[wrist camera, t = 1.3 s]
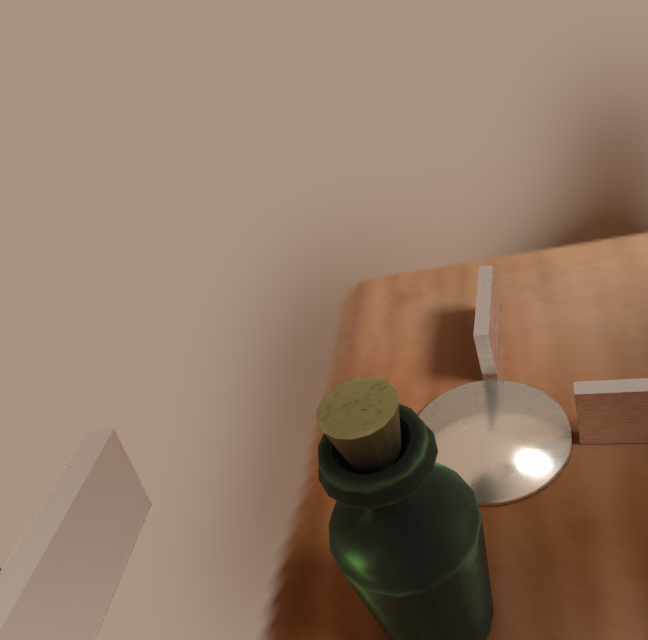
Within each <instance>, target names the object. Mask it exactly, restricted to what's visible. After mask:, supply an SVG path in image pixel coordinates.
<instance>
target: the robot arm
mask: <svg viewBox="0 0 648 640" xmlns="http://www.w3.org/2000/svg"><path fill="white" fill-rule="evenodd" d="M150 507H151V502H150V500H149V498H148V496H147V494H146V492H145V490H144V488H143V486H142V484H141V482H140V480H139V478H138V476H137V474H136V472H135V470H134V468H133V466H132V464H131V462H130V460H129V458H128V456H127V454H126V452H125V450H124V448H123V446H122V444H121V442H120V440H119V438H118V436H117V434H116V432H115V430H114V429H106V430H96V431H87V432H86V433H85V434H84V436H83V438H82V439H81V441H80V443H79V444H78V446H77V448H76V449H75V451H74V452H73V454H72V456H71V457H70V459H69V460H68V462H67V464H66V465H65V467H64V469H63V470H62V472H61V473H60V475H59V477H58V478H57V480H56V482H55V483H54V485H53V486H52V488H51V490H50V491H49V493H48V494H47V496H46V498H45V499H44V501H43V503H42V504H41V506H40V507H39V509H38V511H37V512H36V514H35V516H34V517H33V519H32V521H31V522H30V524H29V525H28V527H27V528H26V530H25V532H24V533H23V535H22V537H21V538H20V540H19V541H18V543H17V545H16V546H15V548H14V550H13V551H12V553H11V555H10V556H9V558H8V559H7V561H6V563H5V565H4V566H3V567H2V569H0V640H95V638H96V636H97V634H98V631H99V629H100V626H101V624H102V622H103V619H104V617H105V615H106V612H107V610H108V607H109V605H110V602H111V600H112V597H113V595H114V593H115V591H116V588H117V586H118V583H119V581H120V579H121V576H122V574H123V571H124V569H125V567H126V564H127V562H128V559H129V557H130V555H131V552H132V550H133V547H134V545H135V543H136V540H137V538H138V535H139V533H140V530H141V528H142V526H143V523H144V521H145V519H146V516H147V514H148V511H149V509H150Z"/></svg>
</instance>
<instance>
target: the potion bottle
mask: <svg viewBox="0 0 648 640" xmlns="http://www.w3.org/2000/svg"><path fill="white" fill-rule="evenodd" d="M316 414H317V424H318V425H319V427H320V428H321V430H322V431H323V433H324V435H323V437H322V439H321V441H320V443H319V446H318V462H319V481H320V482H321V484H322V486H323V487H324V489H325V491H326V492H327V494H328V496H330V497H331V498H333V499H335V500H336V501H337V502H336V505H335V507H334V510H333V512H332V516H331V519H330V522H329V542H330V551H331V553H332V555H333V557H334V559H335V561H336V562H337V564H338V566H339V568H340V570H341V572H342V574H343V575H344V576H345V578H346V579H347V580H348V582H349V583H350V584H351V586H352V587H353V589H354V590H355V591H356V593H357V594H358V595H359V597H360V598H361V600H362V601H363V602H364V604H365V605H366V606H367V608H368V609H369V610H370V612H371V613H372V615H373V616H374V617H375V619H376V620H377V621H378V623H379V624H380V625H381V627H382V628H383V630H384V631H385V632H386V634H387V635H388V636H389V638H390V639H391V640H486V638H487V636H488V635H489V633H490V630H491V623H492V617H493V603H492V595H491V588H490V580H489V572H488V564H487V556H486V549H485V541H484V533H483V525H482V517H481V514H480V510H479V507H478V503H477V500H476V496H475V493H474V491H473V490H472V489H471V487H470V486H469V485H468V484H467V483H466V482H465V481H464V480H463V479H462V477H461V476H460V475H459V474H458V473H457V472H455V471H454V470H452V469H450V468H448V467H446V466H444V465H442V464H440V463H438V462H436V458H437V454H438V448H437V444H436V440H435V436H434V433H433V432H432V431H431V430H430V428H429V427H428V426H427V425H426V424H425V423H424V422H423V421H422V420H421V419H420V418H419V417H418V416H417V414H416V413H415V412H414V411H413V410H412V409H411V408H408V407H406V406H403V405H401V404H399V402H398V396H397V391H396V390H395V389H394V387H393V386H392V385H391V384H390V383H389V382H387V381H384V380H382V379H379V378H376V377H360V378H357V379H353V380H349V381H346V382H344V383H342V384H340V385H339V386H337V387H335V388H333V389H332V390H331V391H330V392H329V393H328V394H327V395H326V396H325V397H324V398H323V399H322V400H321V403H320V405H319V407H318V409H317V411H316Z"/></svg>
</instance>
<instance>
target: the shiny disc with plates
mask: <svg viewBox="0 0 648 640" xmlns="http://www.w3.org/2000/svg"><path fill="white" fill-rule="evenodd" d="M500 316H501V306H500V301H499V296H498V290H497V285H496V279H495V274H494V269H493V265H490V266H482V267H479V278H478V289H477V300H476V311H475V322H474V333H473V337H474V341H475V346H476V350H477V355H478V359H479V363H480V368H481V372H482V377H483V381H478V382H473V383H469V384H465V385H462V386H459V387H456V388H454V389H451V390H449V391H447V392H445V393H444V394H442V395H440V396H439V397H437V398H436V399H435V400H433V401H432V402H431V403H430V404H429V405H427V406H426V407H425V408H424V410H423V411H422V412H421V413H420V415H419V416H418V417H419V418H420V419H421V420H422V421H423V422H424V423H425V424H426V425H427V426H428V427H429V428H430V430H431V431H432V432H433V433H434V436H435V440H436V444H437V448H438V454H437V458H436V462H438V463H440V464H442V465H444V466H446V467H448V468H450V469H452V470H454V471H455V472H457V473H458V474H459V475H460V476H461V477H462V479H463V480H464V481H465V482H466V483H467V484H468V485H469V486H470V487H471V489H472V490H473V491H474V493H475V496H476V500H477V503H478V506H499V505H506V504H510V503H515V502H518V501H521V500H524V499H527V498H529V497H531V496H533V495H535V494H537V493H539V492H540V491H542V490H543V489H545V488H546V487H547V486H549V485H550V484H551V483H552V482H553V481H554V480H555V479H556V478H557V477H558V476H559V475H560V474H561V472H562V471H563V469H564V468H565V466H566V464H567V462H568V460H569V457H570V454H571V450H572V434H571V427H570V424H569V420H568V418H567V416H566V414H565V412H564V411H563V410H562V408H561V407H560V406H559V405H558V404H557V403H556V402H555V401H554V400H553V399H552V398H551V397H550V396H548V395H547V394H545V393H544V392H542V391H540V390H538V389H536V388H534V387H531V386H529V385H525V384H522V383H518V382H513V381H505V380H498V366H499V341H500ZM573 383H574V394H575V403H576V412H577V421H578V429H579V438H580V444H617V443H648V378H639V379H620V380H601V381H582V382H573Z"/></svg>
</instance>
